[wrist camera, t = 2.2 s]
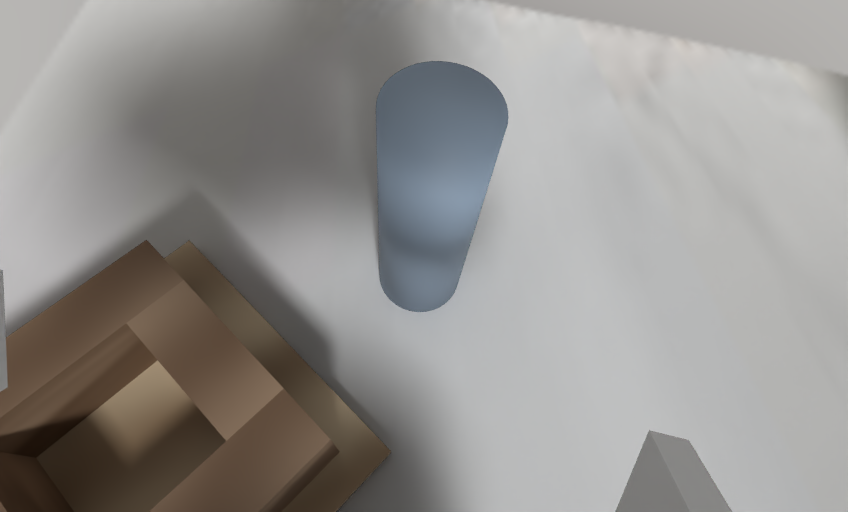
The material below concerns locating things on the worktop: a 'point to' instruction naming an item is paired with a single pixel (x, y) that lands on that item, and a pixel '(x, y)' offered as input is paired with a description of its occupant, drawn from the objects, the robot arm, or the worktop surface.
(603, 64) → the worktop surface
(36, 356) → the socket block
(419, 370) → the worktop surface
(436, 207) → the dowel
